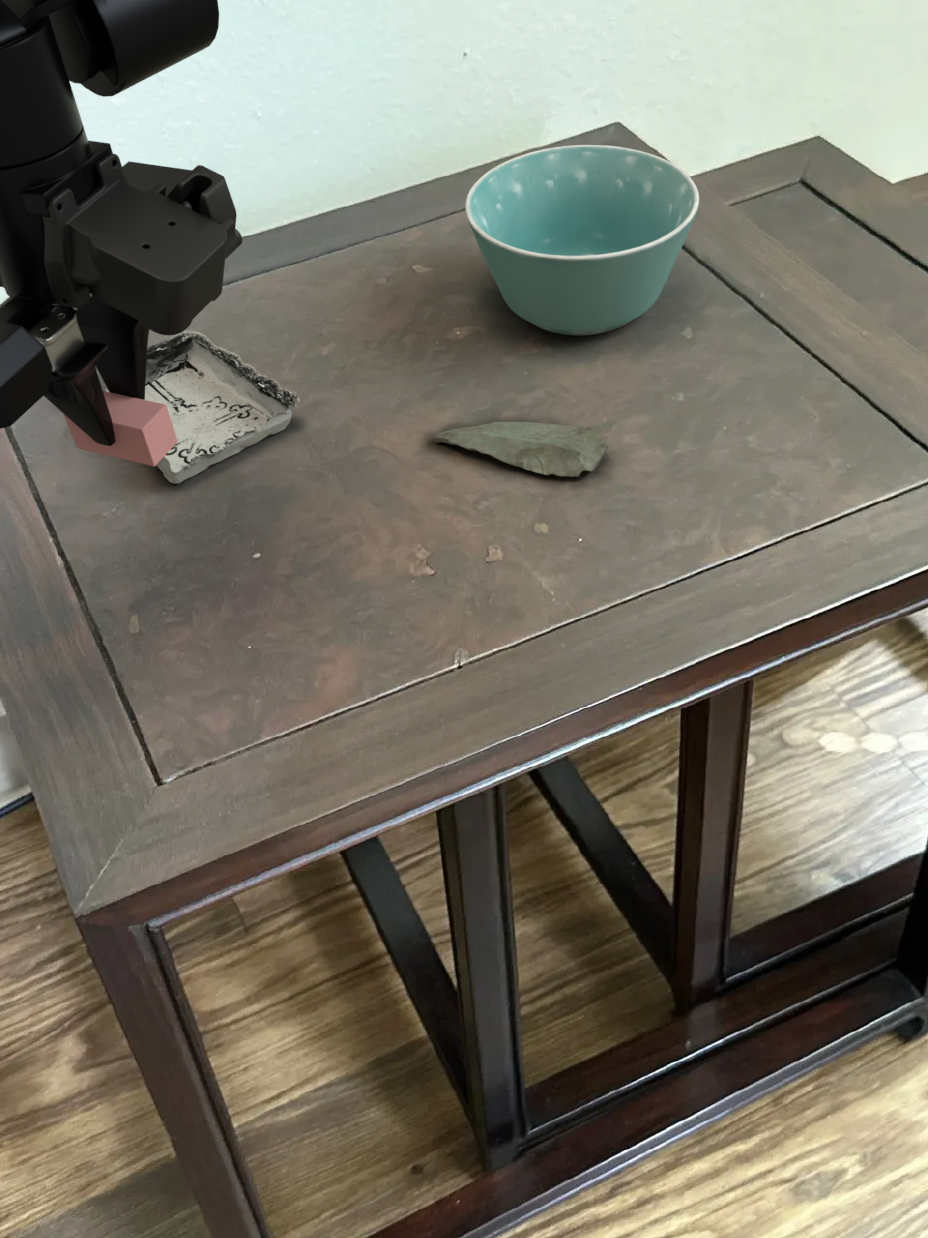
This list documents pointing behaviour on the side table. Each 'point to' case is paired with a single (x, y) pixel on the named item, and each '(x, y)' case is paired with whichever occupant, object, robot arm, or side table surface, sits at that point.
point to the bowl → (582, 233)
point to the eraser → (132, 430)
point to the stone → (533, 445)
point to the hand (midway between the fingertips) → (120, 428)
